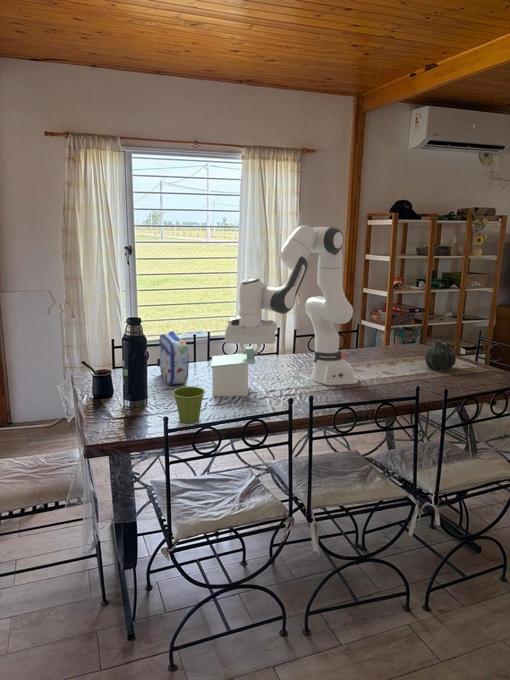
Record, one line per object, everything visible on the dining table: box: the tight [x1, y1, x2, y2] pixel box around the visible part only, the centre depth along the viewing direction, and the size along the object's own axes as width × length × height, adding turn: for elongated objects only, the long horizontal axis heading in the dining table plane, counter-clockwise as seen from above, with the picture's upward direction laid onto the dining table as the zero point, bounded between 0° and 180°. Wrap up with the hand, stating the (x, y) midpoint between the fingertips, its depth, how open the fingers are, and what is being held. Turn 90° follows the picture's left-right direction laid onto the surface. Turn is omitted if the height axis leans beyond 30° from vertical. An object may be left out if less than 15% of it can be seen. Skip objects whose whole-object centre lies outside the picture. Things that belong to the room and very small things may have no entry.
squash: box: [424, 341, 457, 372], centre depth 257 cm, size 14×15×15 cm
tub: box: [211, 364, 249, 397], centre depth 220 cm, size 15×14×14 cm
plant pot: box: [172, 386, 206, 424], centre depth 187 cm, size 12×12×11 cm
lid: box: [210, 345, 256, 369], centre depth 201 cm, size 17×15×5 cm
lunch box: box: [156, 330, 190, 385], centre depth 235 cm, size 28×10×22 cm, turn 23°
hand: (249, 354), depth 201 cm, fingers closed on lid, 3 cm apart
